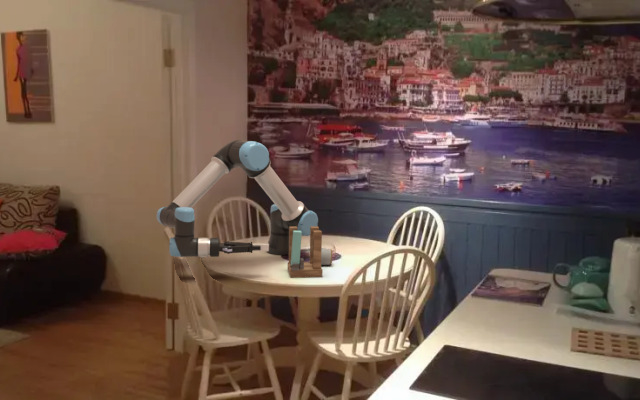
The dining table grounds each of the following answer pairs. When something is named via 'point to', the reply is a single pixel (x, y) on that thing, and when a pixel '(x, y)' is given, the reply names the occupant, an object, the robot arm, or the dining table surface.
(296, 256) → the hinged leg
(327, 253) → the ceramic mug
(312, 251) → the upturned wooden stool
